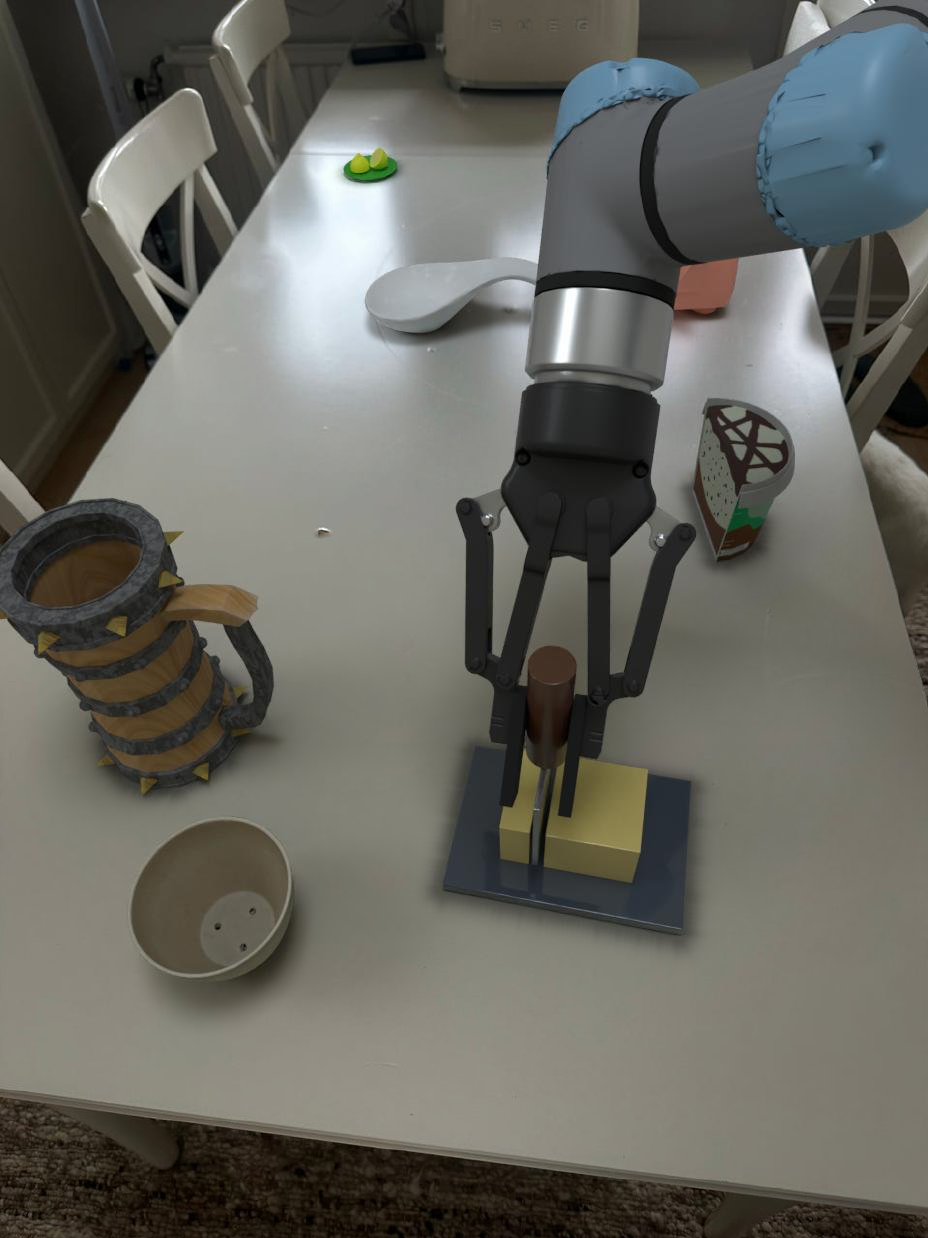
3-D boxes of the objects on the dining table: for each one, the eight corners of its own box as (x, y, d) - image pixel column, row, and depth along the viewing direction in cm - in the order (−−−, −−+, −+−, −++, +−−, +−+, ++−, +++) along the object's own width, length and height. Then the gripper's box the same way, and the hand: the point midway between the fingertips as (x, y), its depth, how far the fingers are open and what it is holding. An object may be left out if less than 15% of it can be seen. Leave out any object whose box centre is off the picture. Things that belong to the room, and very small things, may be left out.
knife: (570, 762, 61) (586, 610, 48) (554, 868, 56) (566, 732, 43) (534, 756, 61) (539, 603, 48) (514, 861, 57) (514, 724, 43)
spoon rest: (360, 347, 100) (351, 290, 94) (377, 291, 107) (369, 235, 102) (565, 351, 98) (569, 293, 92) (568, 294, 105) (571, 237, 99)
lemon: (386, 154, 131) (384, 134, 129) (405, 175, 126) (403, 155, 124) (336, 166, 129) (333, 146, 127) (354, 188, 125) (351, 168, 123)
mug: (132, 655, 73) (29, 478, 58) (328, 676, 71) (276, 498, 55) (65, 792, 65) (-75, 629, 50) (283, 821, 63) (208, 660, 47)
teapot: (741, 345, 97) (770, 221, 86) (628, 350, 97) (642, 227, 86) (707, 245, 110) (728, 127, 99) (607, 249, 111) (618, 132, 100)
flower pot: (173, 868, 61) (138, 824, 55) (314, 853, 61) (294, 808, 56) (154, 1018, 55) (113, 986, 49) (311, 1001, 55) (288, 967, 49)
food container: (789, 568, 76) (821, 483, 68) (720, 574, 76) (744, 489, 68) (750, 474, 84) (775, 388, 76) (687, 479, 84) (705, 393, 76)
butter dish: (689, 787, 63) (703, 745, 58) (680, 935, 57) (695, 902, 52) (475, 751, 66) (472, 709, 61) (443, 890, 59) (437, 854, 55)
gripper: (731, 411, 49) (671, 807, 52) (463, 386, 52) (420, 764, 55) (751, 391, 42) (679, 852, 45) (436, 363, 44) (389, 801, 47)
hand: (537, 803), depth 50 cm, fingers closed on knife, 3 cm apart
